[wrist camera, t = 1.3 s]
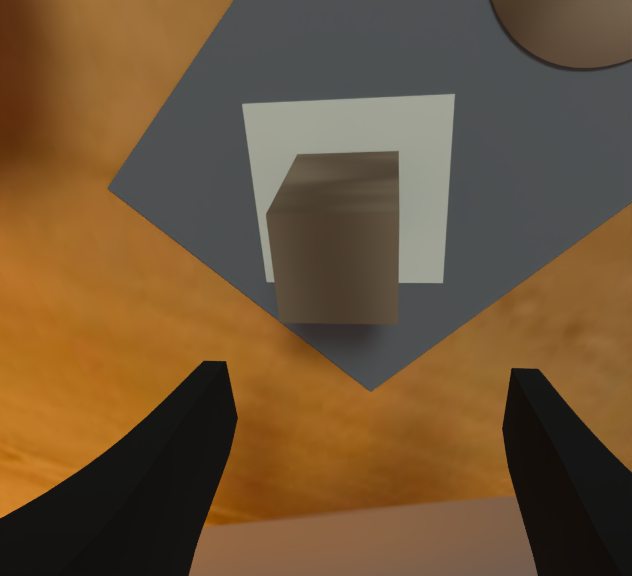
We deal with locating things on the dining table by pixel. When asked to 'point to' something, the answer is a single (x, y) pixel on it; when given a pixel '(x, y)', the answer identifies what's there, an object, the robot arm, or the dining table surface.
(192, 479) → the robot arm
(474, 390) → the dining table surface
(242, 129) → the charcoal mat
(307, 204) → the walnut block
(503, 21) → the cork coaster
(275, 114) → the card
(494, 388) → the dining table surface
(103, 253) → the dining table surface
